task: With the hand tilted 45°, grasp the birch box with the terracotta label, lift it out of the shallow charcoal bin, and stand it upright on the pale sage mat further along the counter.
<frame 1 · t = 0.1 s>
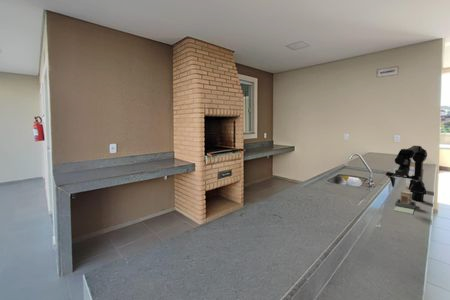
hand: (400, 188, 153), 15 cm above the worktop, tool pointing down, fingers open, 9 cm apart
sage mat: (403, 210, 153), on the worktop
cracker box: (413, 189, 203), on the worktop
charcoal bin: (405, 206, 162), on the worktop
birch box: (405, 205, 161), resting on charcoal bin
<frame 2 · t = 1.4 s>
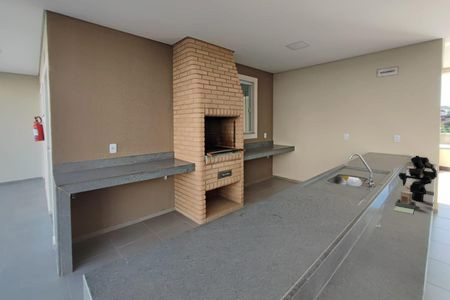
hand: (410, 187, 164), 13 cm above the worktop, tool tilted 45°, fingers open, 9 cm apart
nothing on the worktop moved.
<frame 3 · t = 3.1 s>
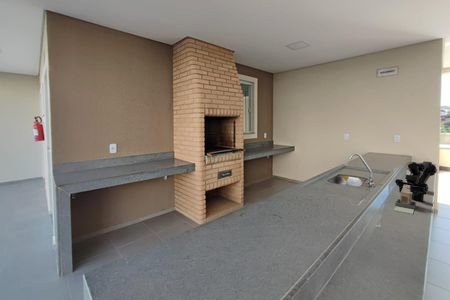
hand: (407, 193, 162), 9 cm above the worktop, tool tilted 45°, fingers open, 9 cm apart
nothing on the worktop moved.
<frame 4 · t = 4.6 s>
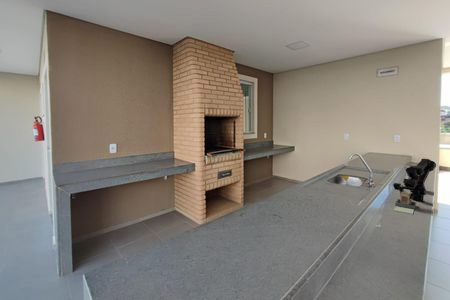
hand: (405, 198, 160), 7 cm above the worktop, tool tilted 45°, fingers closed on birch box, 5 cm apart
birch box: (405, 205, 161), resting on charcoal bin, touching gripper
everything else where it was.
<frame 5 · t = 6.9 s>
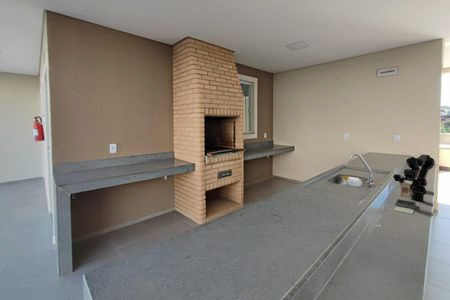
hand: (405, 188, 158), 14 cm above the worktop, tool tilted 45°, fingers closed on birch box, 5 cm apart
birch box: (405, 196, 160), point 8 cm above the worktop, touching gripper
everything else where it was.
when the fingers open (8 cm above the worktop, at t = 9.4 s): birch box drops 1 cm, resting on sage mat.
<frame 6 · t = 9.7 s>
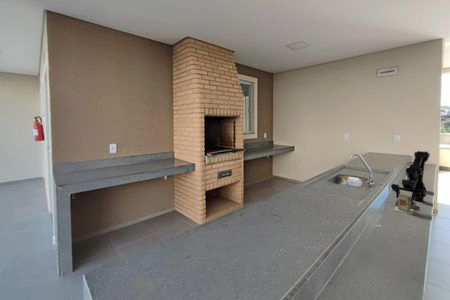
hand: (403, 199, 152), 8 cm above the worktop, tool tilted 45°, fingers open, 8 cm apart
birch box: (403, 209, 153), point 1 cm above the worktop, touching sage mat
everything else where it was.
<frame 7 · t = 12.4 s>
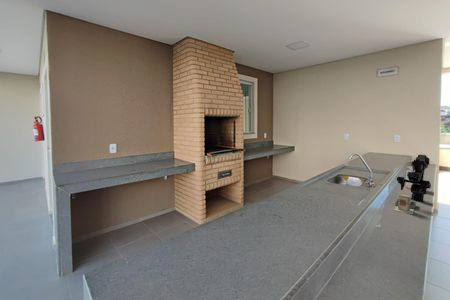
hand: (409, 191, 157), 12 cm above the worktop, tool tilted 45°, fingers open, 9 cm apart
nothing on the worktop moved.
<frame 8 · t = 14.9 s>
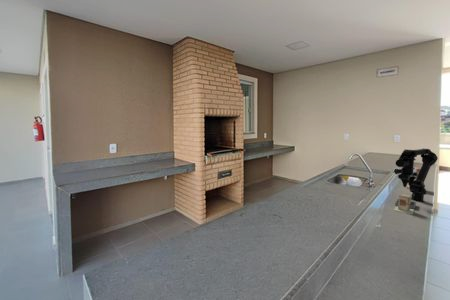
hand: (407, 186, 168), 13 cm above the worktop, tool pointing down, fingers open, 9 cm apart
nothing on the worktop moved.
at the end: birch box 0.0 cm off-centre on the sage mat, point 0.8 cm above the sage mat's base; birch box tilted 0°; the gripper is holding nothing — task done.
